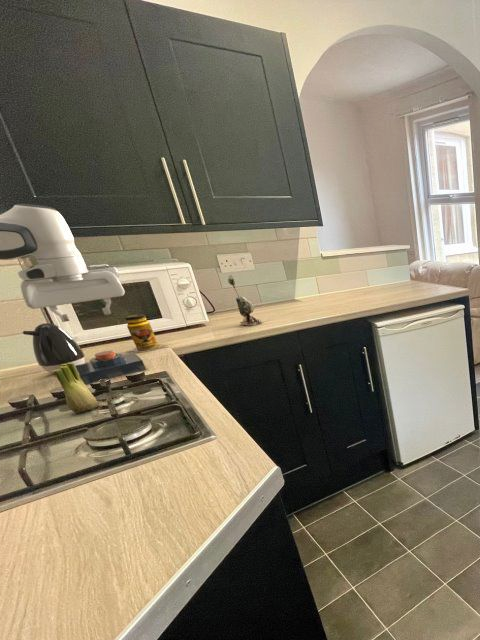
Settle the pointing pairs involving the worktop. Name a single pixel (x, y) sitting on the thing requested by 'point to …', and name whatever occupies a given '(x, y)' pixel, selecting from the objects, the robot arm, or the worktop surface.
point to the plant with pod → (244, 307)
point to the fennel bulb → (75, 389)
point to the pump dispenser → (54, 347)
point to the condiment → (141, 333)
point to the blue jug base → (110, 367)
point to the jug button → (105, 355)
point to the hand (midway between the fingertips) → (87, 317)
